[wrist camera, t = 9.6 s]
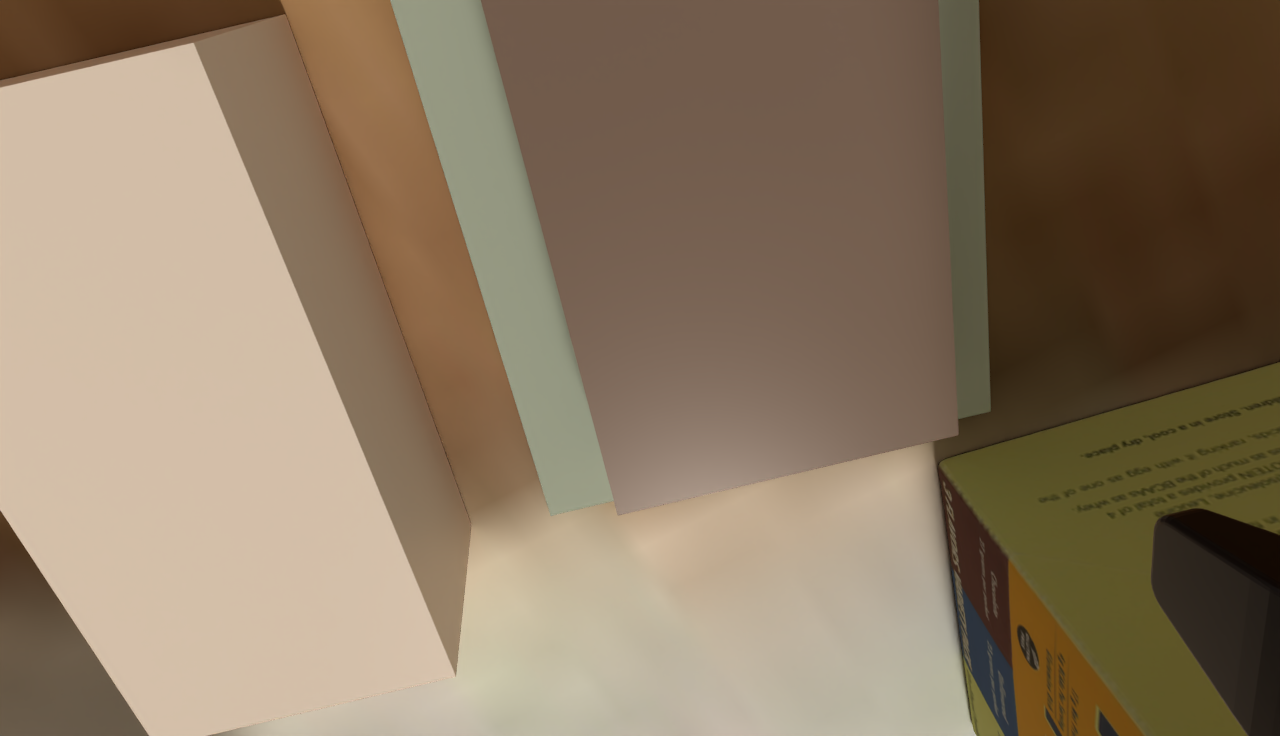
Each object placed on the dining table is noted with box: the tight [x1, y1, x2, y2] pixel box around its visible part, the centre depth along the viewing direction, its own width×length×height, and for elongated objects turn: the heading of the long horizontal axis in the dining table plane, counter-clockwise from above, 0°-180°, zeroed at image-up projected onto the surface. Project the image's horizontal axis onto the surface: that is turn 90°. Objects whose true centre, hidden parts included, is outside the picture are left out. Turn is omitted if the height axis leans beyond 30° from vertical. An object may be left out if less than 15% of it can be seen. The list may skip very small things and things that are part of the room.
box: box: [0, 14, 471, 736], centre depth 17 cm, size 6×12×5 cm, turn 12°
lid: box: [481, 0, 959, 515], centre depth 17 cm, size 7×13×2 cm, turn 11°
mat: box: [390, 0, 991, 516], centre depth 18 cm, size 11×16×1 cm
